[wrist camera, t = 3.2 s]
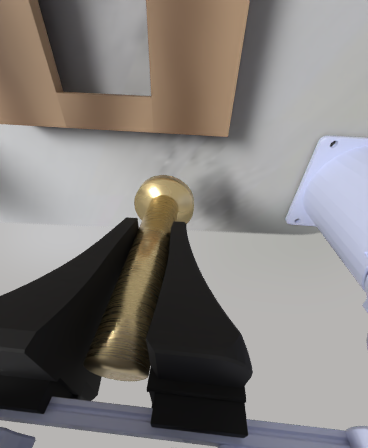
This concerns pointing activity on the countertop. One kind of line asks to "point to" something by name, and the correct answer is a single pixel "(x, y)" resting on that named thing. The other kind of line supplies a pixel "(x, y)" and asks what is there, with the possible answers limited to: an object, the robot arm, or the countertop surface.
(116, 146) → the countertop surface
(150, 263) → the peg
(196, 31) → the keyhole plate
